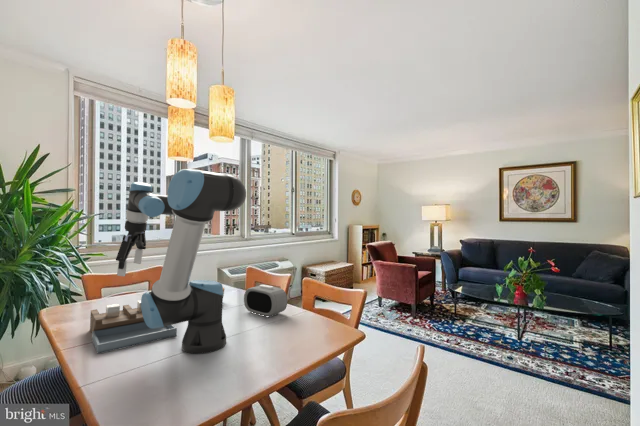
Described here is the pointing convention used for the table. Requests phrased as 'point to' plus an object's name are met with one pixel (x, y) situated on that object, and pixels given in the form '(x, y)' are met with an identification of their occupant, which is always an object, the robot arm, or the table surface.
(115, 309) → the left block
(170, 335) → the tray
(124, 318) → the slot board
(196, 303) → the robot arm
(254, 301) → the alarm clock
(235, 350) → the table surface
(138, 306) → the right block
